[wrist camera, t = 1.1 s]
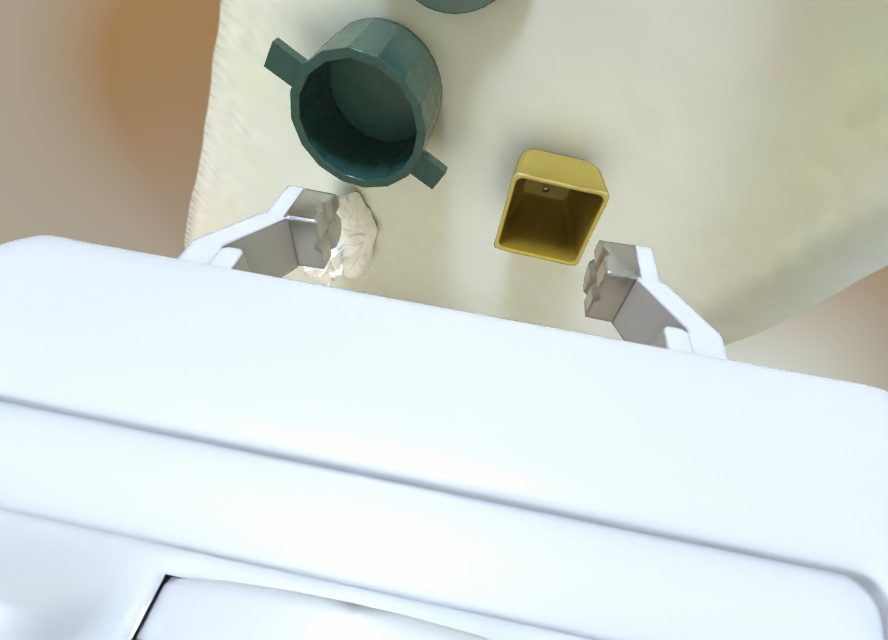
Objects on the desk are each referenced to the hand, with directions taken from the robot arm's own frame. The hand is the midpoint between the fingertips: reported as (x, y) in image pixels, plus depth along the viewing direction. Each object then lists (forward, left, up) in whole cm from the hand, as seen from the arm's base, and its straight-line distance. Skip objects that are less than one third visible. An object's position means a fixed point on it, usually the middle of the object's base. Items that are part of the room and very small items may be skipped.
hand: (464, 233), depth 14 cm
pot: (+15, -5, -34) cm, 37 cm away
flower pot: (+11, +14, -34) cm, 38 cm away
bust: (+32, 0, -34) cm, 47 cm away
